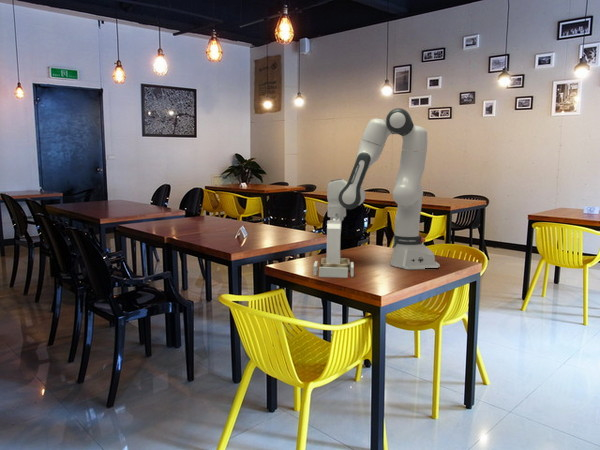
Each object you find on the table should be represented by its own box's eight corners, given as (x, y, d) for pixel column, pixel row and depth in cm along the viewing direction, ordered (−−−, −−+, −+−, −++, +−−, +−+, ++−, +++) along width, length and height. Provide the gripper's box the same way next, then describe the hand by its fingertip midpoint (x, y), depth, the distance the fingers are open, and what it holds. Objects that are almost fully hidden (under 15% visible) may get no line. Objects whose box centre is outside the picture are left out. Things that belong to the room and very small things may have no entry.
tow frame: (348, 259, 241) (348, 252, 240) (350, 271, 216) (350, 263, 216) (321, 258, 242) (322, 251, 241) (320, 270, 217) (320, 262, 217)
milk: (326, 267, 224) (327, 219, 221) (339, 267, 223) (340, 219, 220) (326, 270, 218) (326, 221, 215) (340, 270, 217) (340, 221, 214)
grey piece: (353, 270, 217) (353, 262, 216) (353, 278, 205) (353, 268, 204) (314, 269, 218) (315, 260, 218) (313, 276, 206) (313, 267, 206)
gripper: (343, 215, 224) (343, 245, 226) (343, 210, 244) (344, 238, 246) (329, 215, 225) (330, 245, 227) (330, 211, 245) (331, 238, 247)
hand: (337, 241), depth 237 cm, fingers closed
